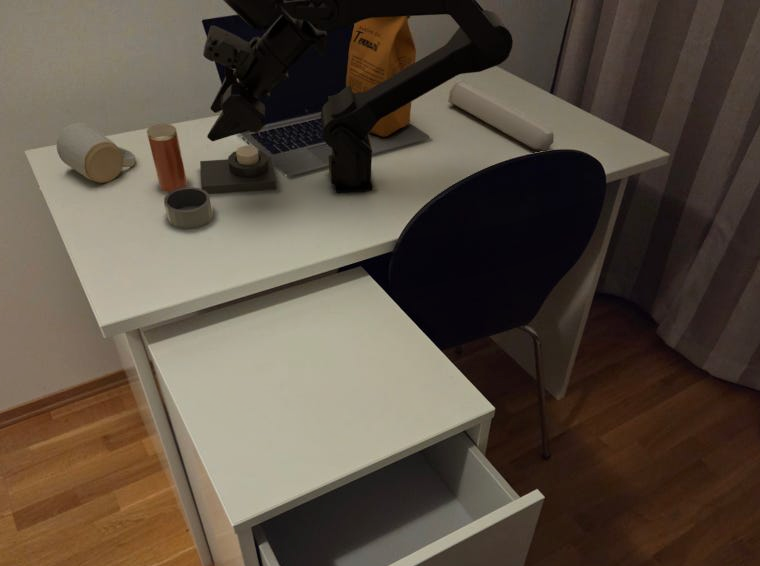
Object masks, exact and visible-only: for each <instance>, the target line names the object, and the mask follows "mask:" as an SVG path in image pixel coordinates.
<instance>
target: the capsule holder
mask: <svg viewBox="0 0 760 566" xmlns="http://www.w3.org/2000/svg"><path fill="white" fill-rule="evenodd" d="M163 206H164V209H165V214H166V217H167V221H168V222H169V223H170V225H172V226H173V227H174V228H177V229H181V230H194V229H199V228H203V227H204V226H206V225H208V224H209V223H210V222H211V221H212V219H213V217H214V213H213V212H214V211H213V207H212V200H211V194H208V193H207V192H206V191H205V190H202V188H200V187H194V186H187V187H184V188H179V189H176V190H173V191H172V192H167V194H166V195H165V197H164V198H163Z"/></svg>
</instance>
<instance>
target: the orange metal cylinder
mask: <svg viewBox="0 0 760 566" xmlns="http://www.w3.org/2000/svg"><path fill="white" fill-rule="evenodd" d="M177 131H178V130H177V127H175V126H174V125H172V124H169V123H158V124H154V125H151V126H149V127H148V128H147V129H146V134H147V135H146V136H147V140H148V142H149V143H148V144H149V149H150V152H151V155H152V160H153V164H154V168H155V172H156V176H157V180H158V184H159V188H160V189H161V190H162V191H163V192H166V193H170V192H172V191H173V190H176V189H179V188H184V187H188V180H187V175H186V170H185V165H184V159H183V156H182V151H181V146H180V141H179V136H178V132H177Z"/></svg>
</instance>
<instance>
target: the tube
mask: <svg viewBox="0 0 760 566" xmlns="http://www.w3.org/2000/svg"><path fill="white" fill-rule="evenodd" d="M448 103H449V104H451V105H452V106H453V107H458V108H460V109H462V110H463V111H464V112H467V113H468V114H470V115H472V116H474V117H475V118H477V119H479V120H481V121H483V122H485V123H486V124H488V125H490V126H492V127H493V128H495V129H496V130H499V131H500V132H502V133H504V134H505V135H507V136H510V137H511V138H513V139H514V140H516V141H518V142H520V143H522V144H524V146H527V147H529V148H530V149H532V150H534V151H536V152H538V151H543V152H545V151H546V150H548V149H549V148H550V147H551V146H552V145H553V144H554V139H555V134H554V131H553V129H552V128H550V126H548V125H546V124H544V123H542V122H541V121H539V120H537V119H535V118H533V117H531V116H529V115H527V114H526V113H523V112H522V111H520V110H519V109H516V108H514V107H513V106H510V105H509V104H508V103H505V102H504V101H502V100H499V99H498V98H496V97H493V96H492V95H490V94H488V93H486V92H484V91H483V90H482V89H481V90H480V89H479V88H476V87H475V86H474V85H471V84H469V83H468V82H467V81H466V80H464V79H459V80H456V81H454V83H453V84H452V86H451V88H450V89H449V93H448ZM544 150H545V151H544Z"/></svg>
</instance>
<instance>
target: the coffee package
mask: <svg viewBox="0 0 760 566" xmlns="http://www.w3.org/2000/svg"><path fill="white" fill-rule="evenodd" d="M411 17H412V16H399V17H378V18H368V19H364V20H361V21H359V22H357V23H355V24H354V27H353V30H352V35H351V38H350V43H349V49H348V58H347V66H346V67H347V68H346V79H345V88H346V87H347V86H351V88H352V91H353V93H358V92H365V91H368V90H370V89H371V88H373V87H375V86H376V85H378V84H380V83H382V82H383V81H385V80H387V79H388V78H390V77H392V76H393V75H395V74H397V73H399V72H400V71H402V70H404V69H405V68H407V67H409V66H411V65H412V64H414V63H416V57H417V49H416V45H415V43H414V39H413V35H412V32H411V29H410V26H409V19H411ZM411 111H412V102H410V103H408V104H406V105H405V106H403V107H401V108H399V109H398V110H396V111H394V112H392V113H391V114H389V115H387V116H385V117H384V118H382V119H380V120H379V121H378V122H377V123H376V125H375V126H374V127H373V129H372V130H371V131H370V132H369V134H373V135H375V136H379V137H382V138H385V137H389V135H391V134H393V133H395V132H397V131H398V130H399V129H401V128H406V127H407V125H409V124H410V123H411Z"/></svg>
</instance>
